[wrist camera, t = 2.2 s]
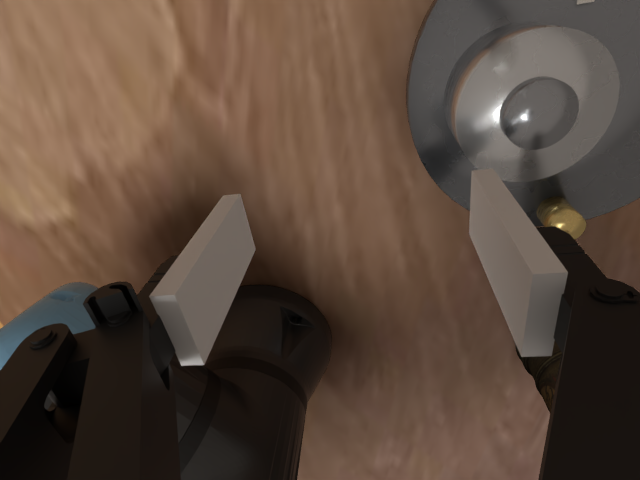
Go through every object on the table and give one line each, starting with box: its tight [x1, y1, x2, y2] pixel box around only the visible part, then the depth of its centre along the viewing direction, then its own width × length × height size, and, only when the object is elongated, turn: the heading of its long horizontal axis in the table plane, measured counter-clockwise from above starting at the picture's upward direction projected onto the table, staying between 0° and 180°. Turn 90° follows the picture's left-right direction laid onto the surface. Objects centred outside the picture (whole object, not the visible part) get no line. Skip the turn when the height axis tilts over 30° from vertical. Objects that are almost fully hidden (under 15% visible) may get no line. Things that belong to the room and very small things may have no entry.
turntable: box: [406, 0, 640, 240], centre depth 27 cm, size 22×22×5 cm
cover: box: [444, 22, 620, 182], centre depth 26 cm, size 9×9×6 cm
